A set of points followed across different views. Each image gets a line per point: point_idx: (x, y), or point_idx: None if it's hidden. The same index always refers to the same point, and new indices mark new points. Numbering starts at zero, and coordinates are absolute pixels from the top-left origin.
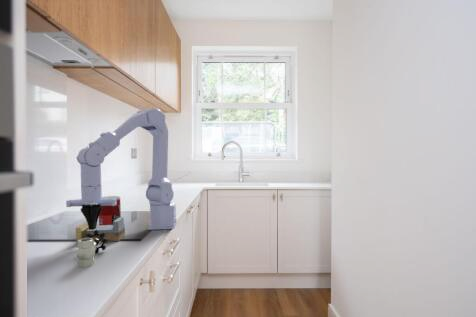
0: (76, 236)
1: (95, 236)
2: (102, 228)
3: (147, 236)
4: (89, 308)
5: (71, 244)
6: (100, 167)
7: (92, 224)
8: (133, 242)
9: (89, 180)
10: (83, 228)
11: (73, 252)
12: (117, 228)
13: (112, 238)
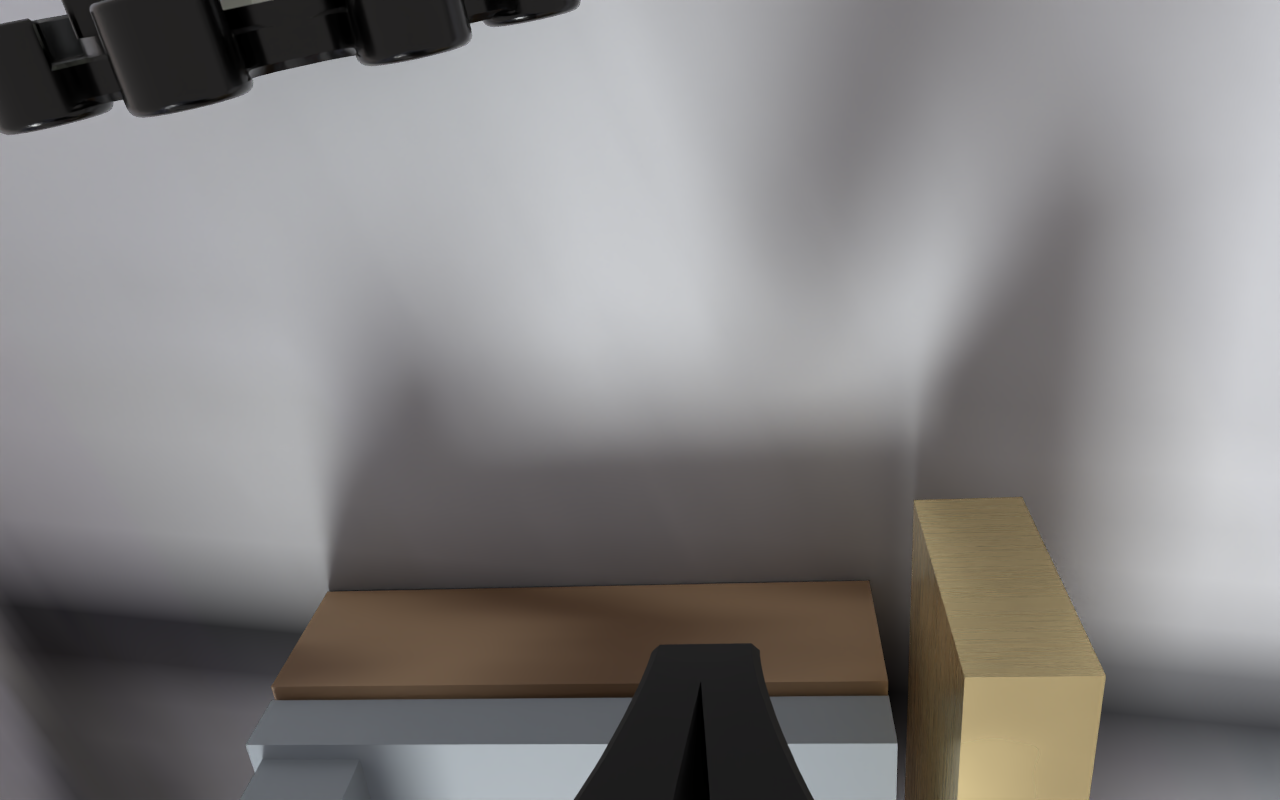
0: (1030, 545)
1: None
2: None
3: (9, 758)
4: None
5: (1112, 505)
6: None
7: (654, 715)
8: (43, 509)
9: None
10: (948, 748)
11: (868, 25)
12: (268, 772)
13: (413, 621)
